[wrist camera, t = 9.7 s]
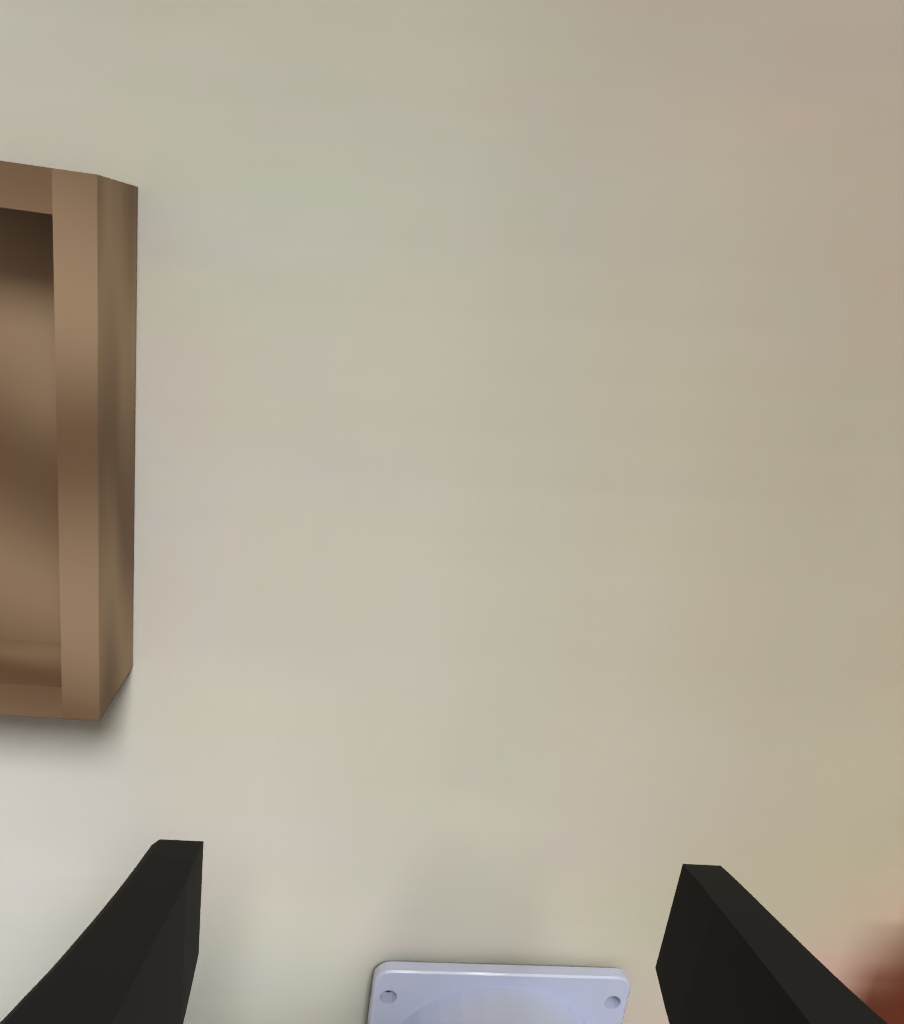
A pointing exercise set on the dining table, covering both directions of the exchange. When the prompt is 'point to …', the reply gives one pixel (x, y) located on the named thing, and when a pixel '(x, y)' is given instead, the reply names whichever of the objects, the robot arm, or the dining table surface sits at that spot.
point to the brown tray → (66, 439)
